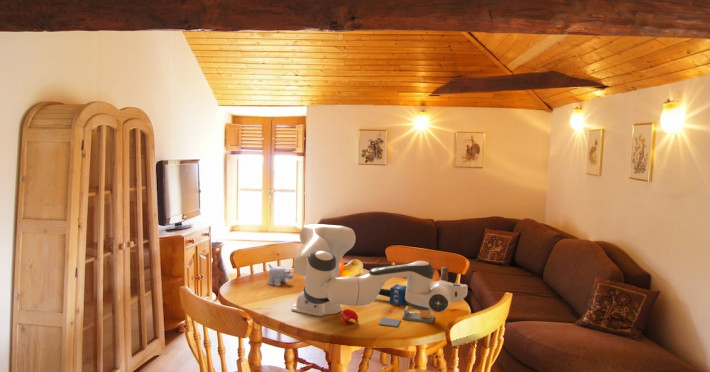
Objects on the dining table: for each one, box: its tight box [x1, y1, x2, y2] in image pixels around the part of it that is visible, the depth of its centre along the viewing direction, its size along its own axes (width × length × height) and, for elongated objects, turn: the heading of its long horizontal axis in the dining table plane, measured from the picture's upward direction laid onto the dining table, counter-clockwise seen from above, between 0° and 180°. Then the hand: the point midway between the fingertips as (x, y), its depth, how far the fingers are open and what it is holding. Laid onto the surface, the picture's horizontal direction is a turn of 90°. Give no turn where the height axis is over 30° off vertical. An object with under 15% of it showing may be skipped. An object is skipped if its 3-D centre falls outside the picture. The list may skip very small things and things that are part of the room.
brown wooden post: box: [440, 266, 449, 282], centre depth 217 cm, size 3×3×14 cm
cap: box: [340, 308, 359, 326], centre depth 212 cm, size 8×6×6 cm
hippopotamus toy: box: [266, 264, 294, 287], centre depth 270 cm, size 11×15×10 cm
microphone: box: [378, 284, 408, 307], centre depth 243 cm, size 8×8×25 cm
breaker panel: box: [401, 305, 435, 324], centre depth 221 cm, size 13×8×4 cm, turn 76°
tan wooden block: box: [420, 309, 432, 319], centre depth 220 cm, size 4×4×11 cm
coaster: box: [378, 317, 402, 328], centre depth 214 cm, size 8×8×1 cm
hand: (444, 283), depth 218 cm, fingers closed on brown wooden post, 3 cm apart
